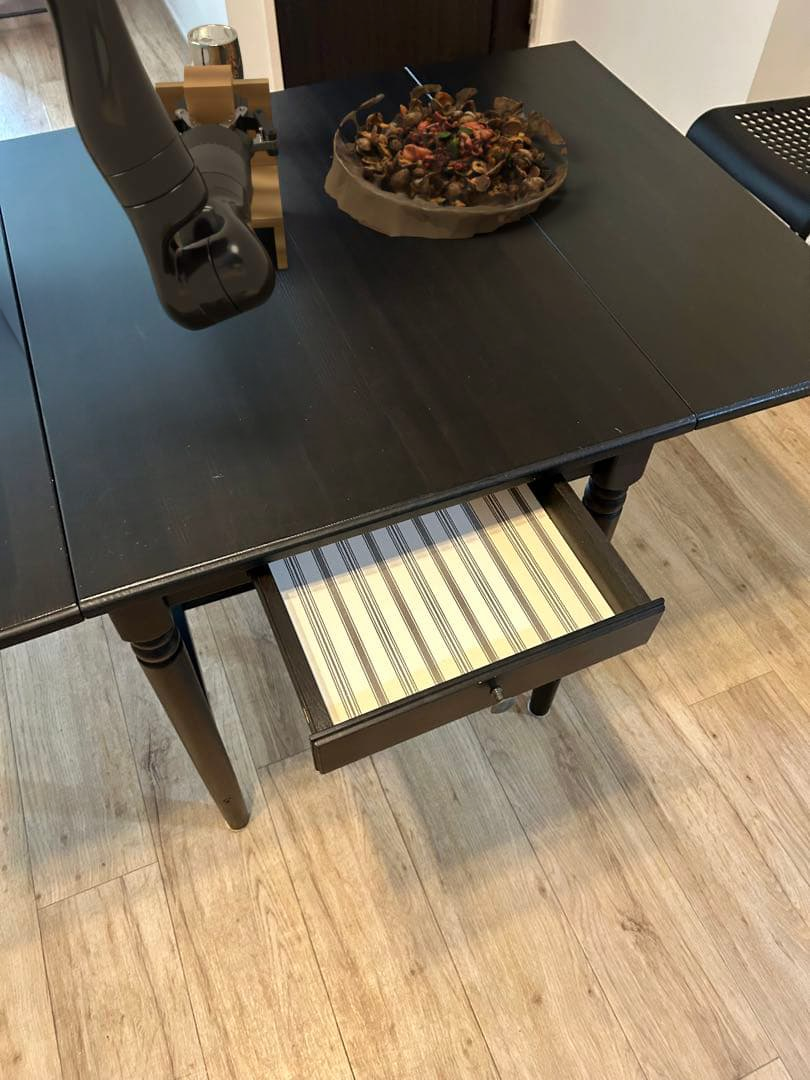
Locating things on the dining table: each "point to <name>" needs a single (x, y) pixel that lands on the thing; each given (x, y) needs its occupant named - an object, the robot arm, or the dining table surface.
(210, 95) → the kraft box
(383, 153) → the food dish
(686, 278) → the dining table surface
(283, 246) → the miniature wooden chair
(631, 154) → the dining table surface
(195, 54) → the silver metal cylinder
